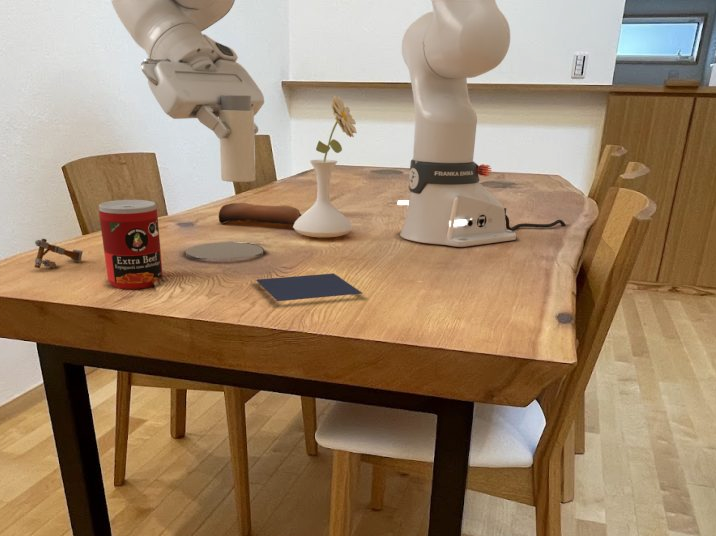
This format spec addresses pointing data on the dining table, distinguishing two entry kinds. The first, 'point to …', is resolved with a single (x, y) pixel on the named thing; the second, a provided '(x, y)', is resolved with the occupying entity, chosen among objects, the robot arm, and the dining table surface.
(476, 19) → the robot arm
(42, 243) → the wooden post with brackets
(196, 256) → the coaster
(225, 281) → the dining table surface
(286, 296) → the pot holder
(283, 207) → the sunglasses case
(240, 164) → the shaker
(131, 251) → the canned food
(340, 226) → the flower in vase
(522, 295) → the dining table surface
